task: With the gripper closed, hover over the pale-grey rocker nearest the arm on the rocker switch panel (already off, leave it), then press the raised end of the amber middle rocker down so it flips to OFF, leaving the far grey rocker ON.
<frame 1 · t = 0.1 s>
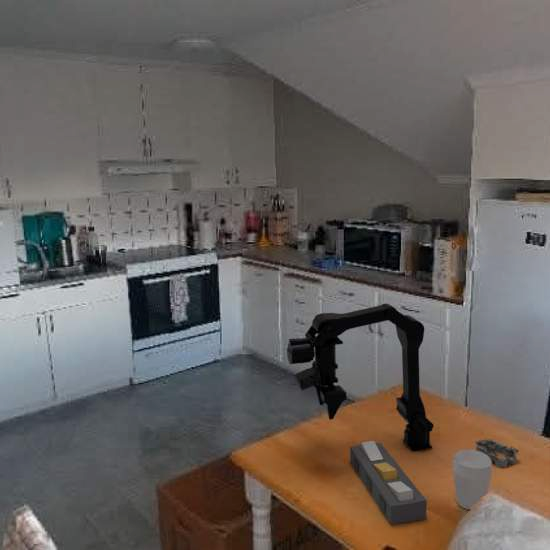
hand: (326, 411, 158), 15 cm above the table, fingers open, 9 cm apart
cup: (470, 503, 139), on the table
rocker A: (372, 453, 154), point 5 cm above the table, hinge at -15.0°
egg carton: (495, 458, 159), on the table
rocker B: (385, 471, 145), point 5 cm above the table, hinge at 15.0°
rocker C: (399, 491, 136), point 5 cm above the table, hinge at 15.0°
rocker switch panel: (384, 488, 146), on the table
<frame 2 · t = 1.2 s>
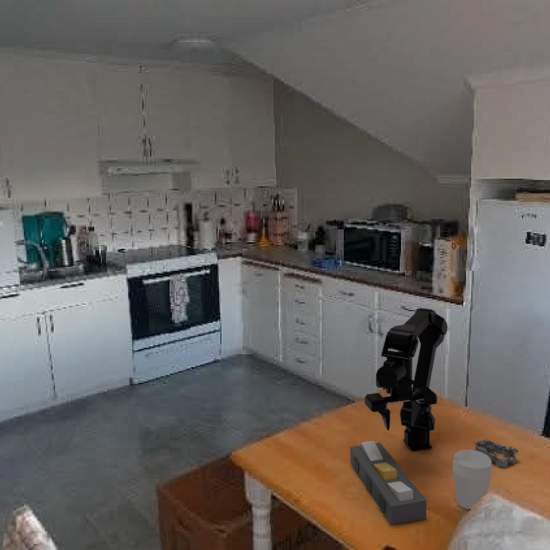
hand: (400, 428, 153), 12 cm above the table, fingers open, 7 cm apart
nothing on the table moved.
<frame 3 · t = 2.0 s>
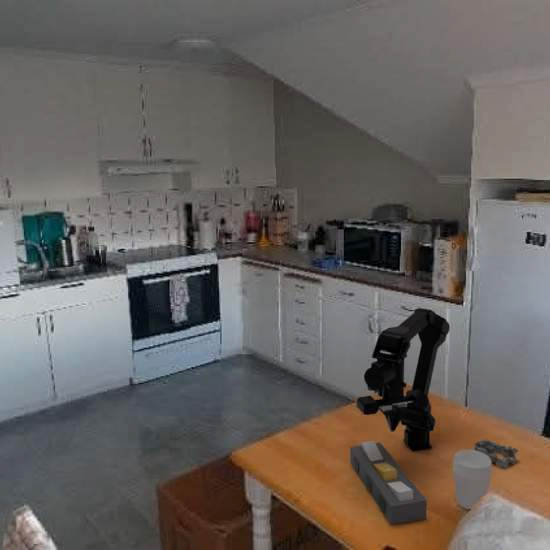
hand: (392, 430, 153), 11 cm above the table, fingers closed
nothing on the table moved.
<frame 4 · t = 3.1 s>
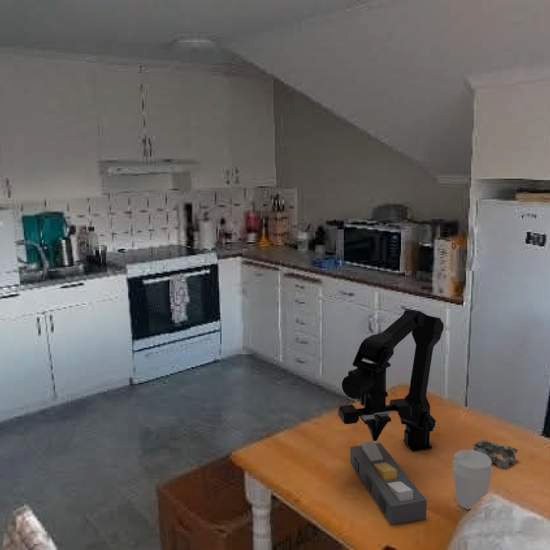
hand: (374, 440, 150), 10 cm above the table, fingers closed
nothing on the table moved.
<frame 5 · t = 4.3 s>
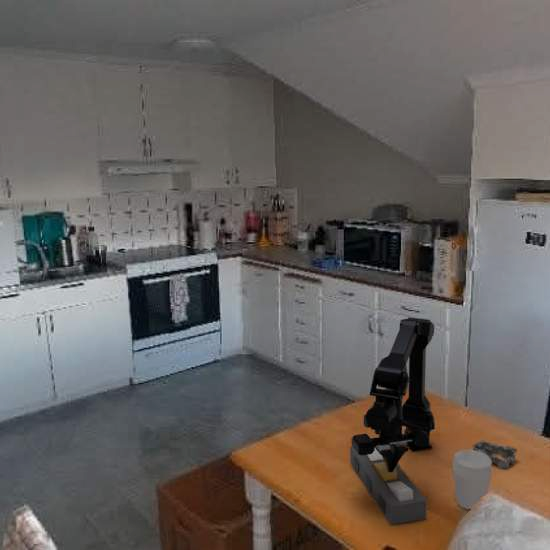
hand: (390, 471, 142), 7 cm above the table, fingers closed, pressing on rocker B
rocker B: (385, 471, 145), point 5 cm above the table, hinge at 12.8°, touching gripper
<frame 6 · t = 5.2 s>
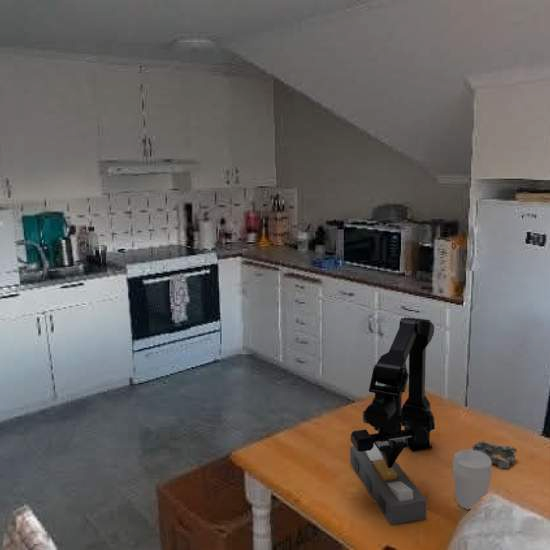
hand: (389, 467, 142), 8 cm above the table, fingers closed
rocker B: (385, 471, 145), point 5 cm above the table, hinge at -1.9°
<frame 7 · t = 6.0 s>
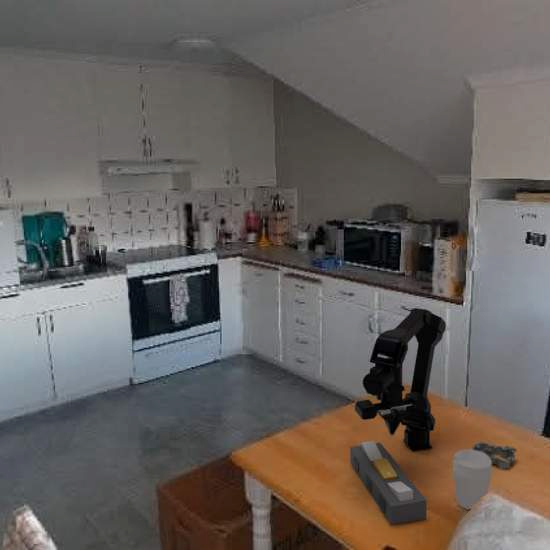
hand: (391, 434, 151), 11 cm above the table, fingers closed
rocker B: (385, 471, 145), point 5 cm above the table, hinge at -8.4°
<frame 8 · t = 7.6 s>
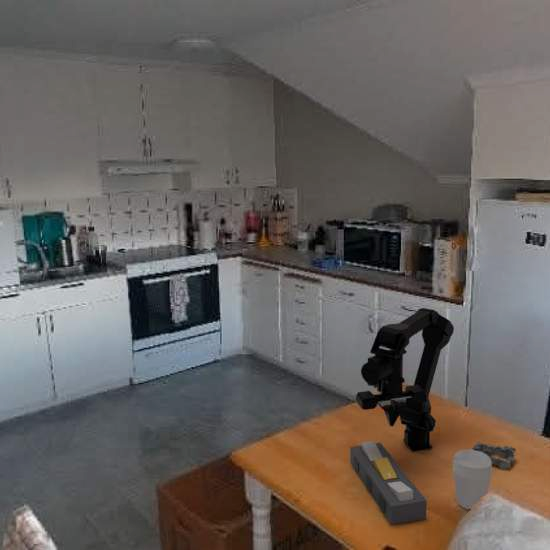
hand: (391, 425, 154), 12 cm above the table, fingers closed
rocker B: (385, 471, 145), point 5 cm above the table, hinge at -14.8°
at the end: rocker B at -15° (first picture: +15°); rocker C at +15° (first picture: +15°); rocker A at -15° (first picture: -15°) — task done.
